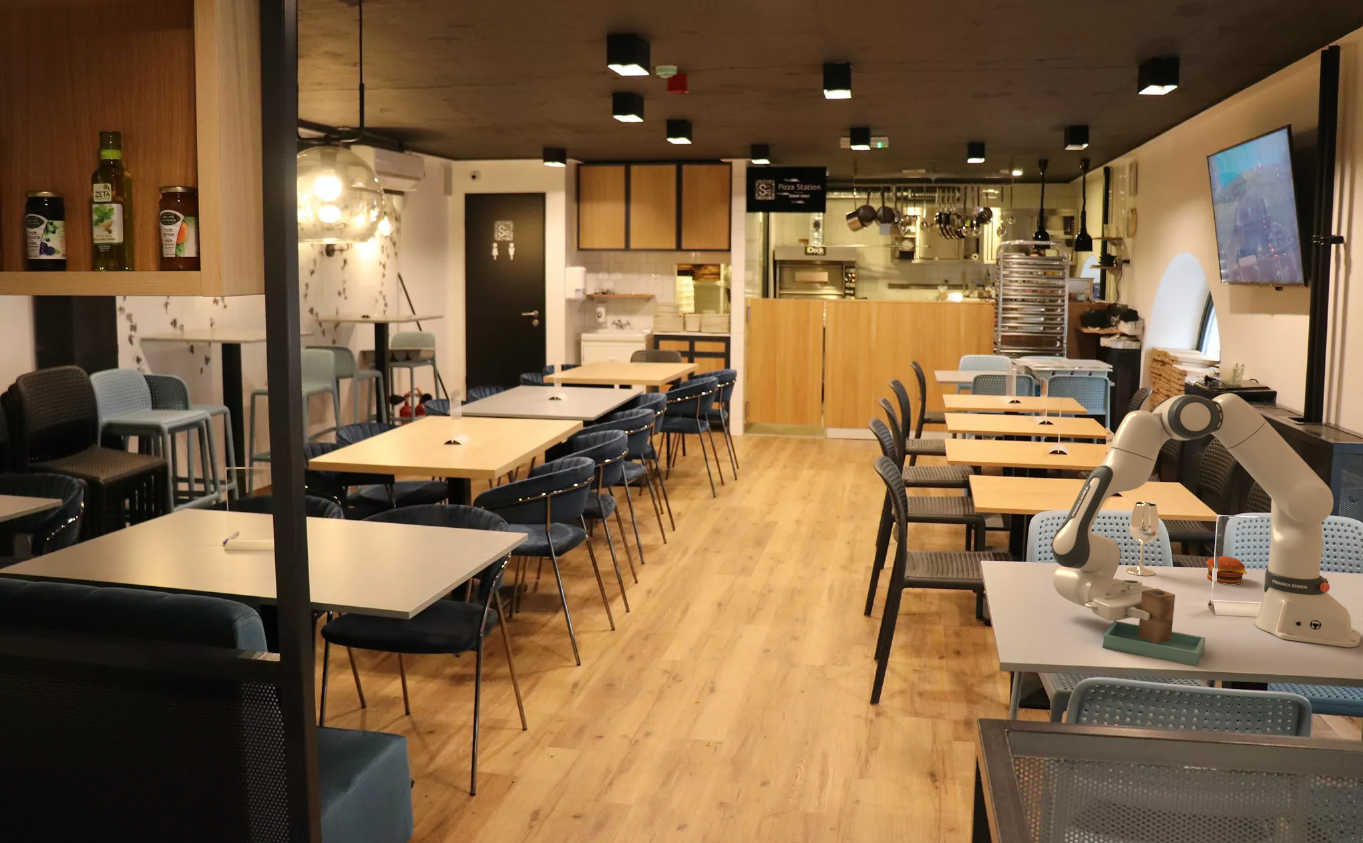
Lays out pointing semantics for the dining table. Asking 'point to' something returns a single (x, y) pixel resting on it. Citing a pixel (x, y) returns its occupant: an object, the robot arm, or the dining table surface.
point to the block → (1157, 616)
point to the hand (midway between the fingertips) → (1159, 614)
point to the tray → (1176, 650)
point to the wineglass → (1143, 531)
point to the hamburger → (1227, 570)
